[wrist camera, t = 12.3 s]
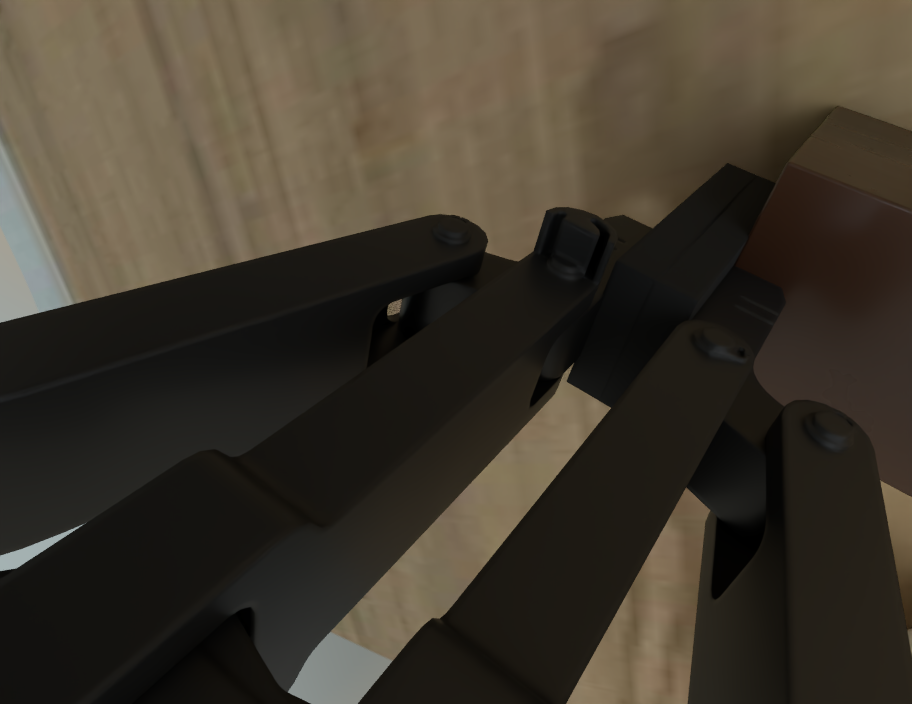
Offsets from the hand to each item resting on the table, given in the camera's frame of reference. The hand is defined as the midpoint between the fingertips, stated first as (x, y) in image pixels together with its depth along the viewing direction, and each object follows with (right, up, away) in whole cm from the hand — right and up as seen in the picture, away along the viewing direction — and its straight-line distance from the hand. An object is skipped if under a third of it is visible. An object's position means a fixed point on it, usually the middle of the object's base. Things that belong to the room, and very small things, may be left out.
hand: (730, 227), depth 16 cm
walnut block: (+4, 0, 0) cm, 4 cm away
